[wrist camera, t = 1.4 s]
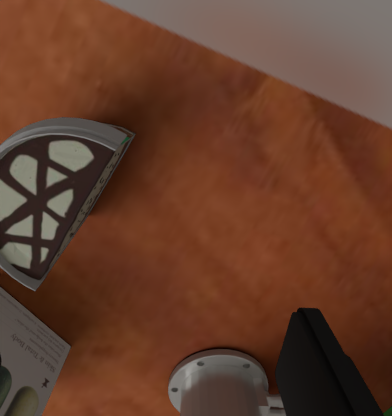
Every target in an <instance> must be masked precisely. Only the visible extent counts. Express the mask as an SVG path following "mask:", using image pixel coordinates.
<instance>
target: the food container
mask: <svg viewBox="0 0 392 416" xmlns="http://www.w3.org/2000/svg"><path fill="white" fill-rule="evenodd" d="M135 134H136V133H134V132H132V131H130V130H128V129H126V128H125V127H121V126H117V125H113V124H108V123H100V122H97V121H92V120H87V119H82V118H65V117H62V118H53V119H46V120H42V121H39V122H36V123H33V124H30V125H28V126H26V127H24V128H22V129H20V130H18V131H17V132H15V133H14V134H13V135H12V136H10V137H9V138H8V139H7V140H5V141H4V142H3V143H2V144H1V145H0V267H1V268H2V269H3V270H4V271H5V272H6V273H8V274H9V275H10V276H11V277H12V278H14V279H15V280H17V281H18V282H20V283H21V284H23V285H24V286H26V287H28V288H30V289H32V290H34V291H36V290H37V288H38V287H39V286H40V285H41V283H42V282H43V281H44V279H45V278H46V275H47V274H48V273H49V271H50V270H51V268H52V267H53V265H54V264H55V263H56V261H57V260H58V258H59V257H60V255H61V254H62V253H63V251H64V250H65V248H66V247H67V245H68V244H69V243H70V241H71V240H72V238H73V237H74V235H75V234H76V232H77V231H78V230H79V228H80V227H81V225H82V224H83V222H84V221H85V220H86V218H87V217H88V215H89V213H90V212H91V210H92V208H93V207H94V205H95V203H96V201H97V200H98V198H99V196H100V195H101V193H102V191H103V189H104V188H105V186H106V184H107V183H108V181H109V179H110V177H111V176H112V174H113V172H114V170H115V169H116V167H117V165H118V164H119V162H120V160H121V158H122V157H123V155H124V153H125V152H126V150H127V148H128V146H129V145H130V143H131V141H132V140H133V138H134V136H135Z"/></svg>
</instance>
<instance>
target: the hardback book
mask: <svg viewBox="0 0 392 416" xmlns="http://www.w3.org/2000/svg"><path fill="white" fill-rule="evenodd" d="M383 415H384V416H392V407H391V408H389V409H388V410H387V411H386V412H384V413H383Z"/></svg>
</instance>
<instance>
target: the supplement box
mask: <svg viewBox="0 0 392 416" xmlns="http://www.w3.org/2000/svg"><path fill="white" fill-rule="evenodd" d="M70 349H71V346H70V345H69V344H67V343H66V342H65V341H64V340H63V339H61V338H60V337H59V336H58V335H57V334H56V333H54V332H53V331H52V330H51V329H50V328H48V327H47V326H46V325H45V324H44V323H43V322H41V321H40V320H39V319H38V318H37V317H35V316H34V315H33V314H32V313H31V312H30V311H28V310H27V309H26V308H25V307H24V306H23V305H21V304H20V303H19V302H18V301H17V300H15V299H14V298H13V297H12V296H11V295H9V294H8V293H7V292H6V291H5V290H3V289H2V288H1V287H0V355H1V360H2V362H1V367H0V416H41V415H42V413H43V411H44V408H45V406H46V404H47V402H48V399H49V397H50V395H51V392H52V390H53V388H54V385H55V383H56V381H57V378H58V376H59V374H60V371H61V369H62V367H63V364H64V362H65V360H66V358H67V355H68V353H69V351H70Z"/></svg>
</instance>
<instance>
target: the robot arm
mask: <svg viewBox="0 0 392 416" xmlns="http://www.w3.org/2000/svg"><path fill="white" fill-rule="evenodd" d="M1 362H2V360H1V355H0V367H1ZM275 377H276V383H277V386H278V389H279V393H280V394H269V392H268V380H267V376H266V373H265V370H264V369H263V367H262V366H261V364H260V363H259V362H258V361H257V360H255V359H254V358H252V357H251V356H249V355H247V354H245V353H242V352H239V351H234V350H229V349H214V350H207V351H203V352H199V353H197V354H194V355H192V356H190V357H188V358H186V359H185V360H183V361H182V362H181V363H180V364H178V365H177V366H176V368H175V369H174V370H173V372H172V374H171V376H170V378H169V384H168V394H169V398H170V401H171V403H172V404H173V406H174V407H175V408H176V409H177V410H178V411H179V412H180V416H384V415H383V413H382V411H381V409H380V408H379V406H378V404H377V402H376V401H375V399H374V397H373V396H372V394H371V392H370V390H369V389H368V387H367V385H366V384H365V382H364V380H363V378H362V377H361V375H360V373H359V371H358V370H357V368H356V366H355V365H354V363H353V361H352V360H351V359H350V357H348V356H347V355H346V354H345V353H344V352H343V350H342V348H341V346H340V345H339V343H338V341H337V339H336V338H335V336H334V334H333V332H332V330H331V329H330V327H329V325H328V323H327V322H326V320H325V318H324V316H323V315H322V313H321V311H320V310H319V309H317V308H299V309H298V310H297V312H293V313H292V315H291V319H290V322H289V325H288V329H287V332H286V336H285V339H284V342H283V346H282V349H281V353H280V356H279V359H278V363H277V366H276V370H275Z"/></svg>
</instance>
